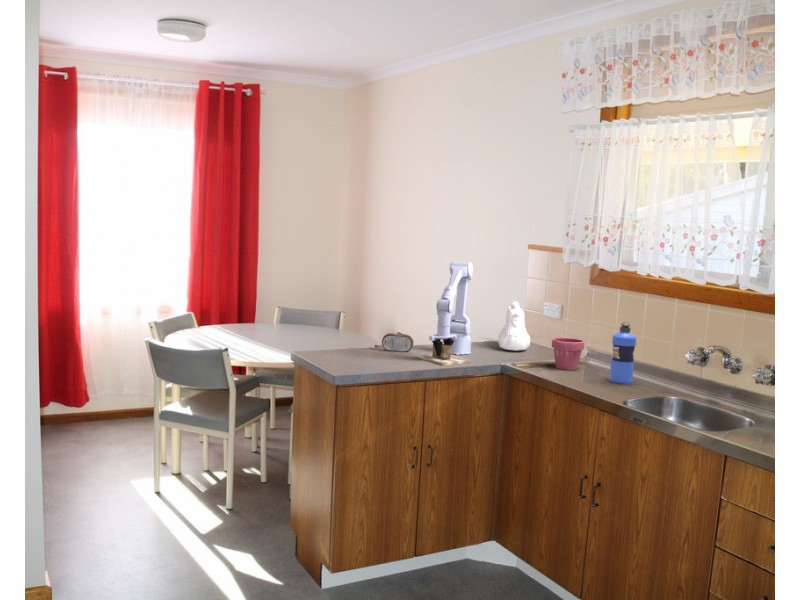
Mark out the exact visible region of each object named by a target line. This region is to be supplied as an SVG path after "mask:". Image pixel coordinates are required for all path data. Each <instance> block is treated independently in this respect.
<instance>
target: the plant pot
mask: <svg viewBox="0 0 800 600" xmlns="http://www.w3.org/2000/svg"><path fill="white" fill-rule="evenodd" d="M551 340H552V341H551V348H552V349H553V355H554V362H555V367H556V369H561V370H568V371H572V370H577V368H578V366H579V362H580V359H581V356H582V355H581V354H582V351H584V349H585V341H584V340H583V339H579V338H573V337H553V338H552V339H551Z"/></svg>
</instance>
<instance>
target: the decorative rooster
mask: <svg viewBox="0 0 800 600" xmlns="http://www.w3.org/2000/svg"><path fill="white" fill-rule="evenodd" d="M506 311H507V312H506V320H505V324H504V326H503V327H502V329H501V330H500V332H499V335H498V337H497V338H498V345H499V348H501V349H503V350H506V351H516V352H517V351H524V350H526V349H528V348H529V347H530V345H531V344H530V343H531V336H530V335H529V333H528V332H527V329H526V326H525V324H526V323H525V312H524V310H523V309H522V308H521V307H520V303H519V302H517V301H516V300H515V301H513V302H511V305H509V306H508V307H507V310H506Z"/></svg>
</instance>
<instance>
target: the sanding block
mask: <svg viewBox="0 0 800 600" xmlns="http://www.w3.org/2000/svg"><path fill="white" fill-rule="evenodd" d="M431 354H432V357H435V358H439V359H442V360H447V359H450V357H451V355H452V353H451V346H449V345H445V344H444V343H443V344H442V347H441V355H440V356H437V355H436V351H435V347H434V344H433V343H432V353H431Z"/></svg>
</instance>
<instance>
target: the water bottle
mask: <svg viewBox="0 0 800 600" xmlns="http://www.w3.org/2000/svg"><path fill="white" fill-rule="evenodd" d="M630 326H631V324H630V322H628V321H623V322H622V323H620V326H619V332H618V333H615V334H612V340H611V342H612V355H611V359H610V370H609V382H611V383H616V384H620V385H630V384H633V377H634V366H635V365H634V363H635V362H634V361H635V358H634V354H635V348H636V345H637V336H635V335H633V334H632V333H631V329H632V327H630Z"/></svg>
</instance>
